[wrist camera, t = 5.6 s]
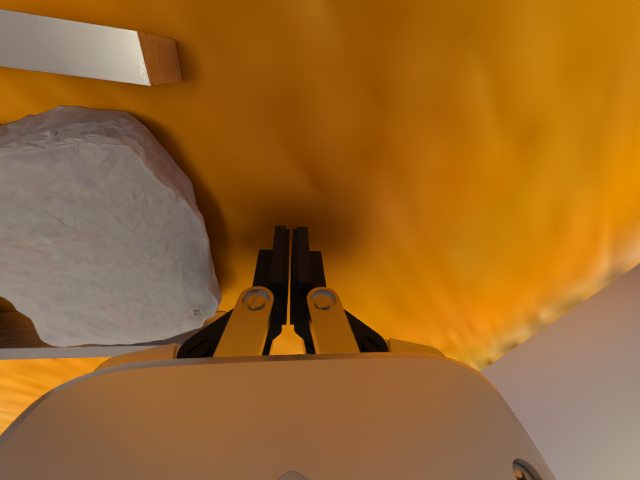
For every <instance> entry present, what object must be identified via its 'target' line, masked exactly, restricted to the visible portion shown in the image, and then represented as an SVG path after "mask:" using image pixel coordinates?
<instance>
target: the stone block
mask: <svg viewBox="0 0 640 480" xmlns="http://www.w3.org/2000/svg"><path fill="white" fill-rule="evenodd" d="M0 296H1V297H3V298H5V299H6V300H8V301H9V302H11V303H12V304H13V305H14V307H15V308H16V310H17V311H19V312H20V313H22V314H24V315H25V316H27V317H29V318H30V319H31V320H32V322H33V323H34V325H35V328H36V331H37V333H38V335H39V337H40V339H41V340H42V341H44V342H45V343H48V344H50V345H52V346H59V347H68V346H76V345H83V344H102V345H103V344H105V345H114V344H125V345H128V344H135V343H141V342H151V341H155V340H165V339H168V338H170V337H173V336H176V335H179V334H182V333H185V332H188V331H191V330H193V329H197V328H200V327H202V326H203V324H204V322H205V320H206V319H208V318H212V317H213V316H214V315H215V313H216V311H217V309H218V306H219V305H220V302H221V299H222V295H221V293H220V289H219V284H218V282H217V278H216V275H215V266H214V263H213V260H212V255H211V252H210V241H209V237H208V234H207V231H206V227H205V222H204V218H203V216H202V214H201V213H200V211H199V209H198V207H197V205H196V197H195V195H194V190H193V186H192V182H191V180H190V178H189V177H188V176H187V175H186V174H185V173H184V172H183V171H182V170H181V169H180V168H179V166H178V165H177V164H176V163H175V161H174V160H173V158H172V157H171V156H170V155H169V153H168V152H167V151H166V150H165V149H164V148H163V147H162V146H161V145H160V143H159V142H158V141H157V140H156V138H155V137H154V136H153V134H152V133H151V132H150V131H149V130H148V129H147V127H146V126H145V125H143V124H142V123H141V122H140V121H139V120H137V119H136V118H135V117H134V116H133V115H131V114H130V113H128V112H123V111H117V110H99V109H91V108H84V107H79V106H72V107H71V106H62V105H61V106H58V107H57V108H54V109H51V110H49V111H46V112H44V113H41V114H38V115H31V114H30V115H27V116H25V117H24V118H22V119H21V120H18V121H14V122H11V123H9V124H4V125H2V124H0Z"/></svg>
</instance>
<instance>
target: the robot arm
mask: <svg viewBox="0 0 640 480" xmlns="http://www.w3.org/2000/svg"><path fill="white" fill-rule="evenodd" d="M289 240H290V229H286V226H275V234H274V243H273V250H261V249H260V250H259V254H258V259H257V265H256V270H255V275H254V281H253V286H252V287H250V288H248V289H246V290H245V291H243V292H242V293H241V295H240V296H239V298H238V300H237V302H236V305H235V307H234V308H233V309H232V310H230V311H229V312H227V313H226V314H224V315H223V316H221V317H220V318H218V319H217V320H215V321H214V322H213V323H211V324H210V325H208V326H207V327H205V328H204V329H202V330H201V331H199V332H198V333H196V334H195V335H193V336H192V337H190V338H189V339H187V340H186V341H185V342H184V343H183V344H180V345H176V344H175V343H172V344H168V345H163V346H159V347H154V348H150V349H145V350H141V351H136V352H132V353H127V354H122V355H118V356H115V357H112V358H110V359H108V360H106V361H105V362H103V363H102V364H100V365H99V366H98V367H97V368H96V369H95V370H94V372H91V373H88V374H86V375H83V376H80V377H78V378H75V379H73V380H70V381H68V382H66V383H64V384H62V385H60V386H58V387H56V388H54V389H52V390H51V391H49V392H47V393H46V394H44V395H42V396H41V397H40V398H39V399H37V400H36V401H35V402H33V403H32V404H31V405H30V406H29V407H28V408H27V409H26V410H24V411H23V412H22V413H21V414H20V415H19V416H18V417H17V418H16V419H15V420H14V421H13V422H12V423H11V425H10V426H9V427H8V428H7V429H6V430H5V431H4V432H3V433H2V434H1V436H0V480H556V478H555V476H554V475H553V473H552V472H551V470H550V468H549V467H548V465H547V463H546V462H545V460H544V458H543V457H542V455H541V454H540V452H539V451H538V449H537V448H536V446H535V445H534V443H533V441H532V440H531V438H530V437H529V435H528V433H527V432H526V430H525V429H524V427H523V426H522V424H521V423H520V421H519V420H518V418H517V417H516V416H515V414H514V412H513V411H512V409H511V408H510V407H509V405H508V404H507V402H506V401H505V400H504V398H503V397H502V396H501V394H500V393H499V392H498V390H497V389H496V388H495V387H494V385H492V383H491V382H490V381H489V380H488V379H487V378H486V377H485V376H484V375H483V374H481V373H480V372H479V371H477V370H476V369H474V368H472V367H470V366H468V365H466V364H464V363H462V362H459V361H457V360H454V359H451V358H448V357H445V355H444V354H443V353H442V352H441V351H439V350H438V349H436V348H434V347H431V346H426V345H421V344H416V343H412V342H407V341H402V340H397V339H392V338H389V340H385V339H383V338H382V337H381V336H380V335H379V334H378V333H376V332H375V331H374V330H372V329H371V328H370V327H368V326H367V325H365V324H364V323H363V322H361V321H360V320H358V319H357V318H356V317H354V316H353V315H351V314H350V313H349V312H347V311H346V310H345V309H343V306H342V304H341V301H340V298H339V296H338V295H337V293H336V292H335V291H333V290H332V289H330V288H326V282H325V276H324V269H323V262H322V255H321V252H320V251H309V242H308V230H307V227H297V229H293V237H292V254H291V279H290V325H294V331H295V333H296V334H298V335H299V336H300V337H301V338H302V346H303V351H304V354H298V355H271V352H272V348H273V343H274V339H275V338H276V337H277V336H278V335H279V334H280V333H281V332H282V325H286V322H287V303H288V283H289Z"/></svg>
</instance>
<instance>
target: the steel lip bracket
mask: <svg viewBox="0 0 640 480" xmlns="http://www.w3.org/2000/svg"><path fill="white" fill-rule="evenodd" d="M0 66H3V67H11V68H19V69H26V70H34V71H42V72H49V73H57V74H65V75H72V76H80V77H88V78H95V79H103V80H111V81H118V82H126V83H134V84H141V85H149V86H152V85H159V84H167V83H174V82H182V81H183V79H182V74H181V69H180V63H179V58H178V52H177V47H176V41H175V40H174V39H169V38H165V37H160V36H156V35H151V34H147V33H142V32H138V31H132V30H126V29H120V28H114V27H108V26H101V25H95V24H89V23H83V22H76V21H70V20H64V19H58V18H52V17H45V16H39V15H33V14H27V13H20V12H14V11H8V10H2V9H0ZM224 314H226V313H225V312H216V313H215V315H214V316H213V317H212V318H208V319H206V320H205V322H204V324H203V326H202V327H200V328H197V329H193V330H191V331H188V332H185V333H182V334H179V335H176V336H173V337H170V338H168V339H165V340H155V341H151V342H141V343H135V344H128V345H125V344H114V345H105V344H103V345H102V344H83V345H76V346H68V347H59V346H52V345H50V344H48V343H45V342H44V341H42V340H41V339H40V337H39V335H38V333H37V331H36V328H35V325H34V323H33V322H32V320H31V319H30V318H29V317H27V316H25V315H24V314H22V313H20V312H0V360H5V359H44V358H83V357H115V356H118V355H122V354H127V353H132V352H136V351H141V350H145V349H150V348H154V347H159V346H163V345H168V344H172V343H175V344H176V345H180V344H183V343H184V342H185V341H186V340H187V339H189V338H190V337H192V336H193V335H195V334H196V333H198V332H199V331H201V330H202V329H204V328H205V327H207V326H208V325H210V324H211V323H213V322H214V321H215V320H217V319H218V318H220V317H221V316H223V315H224Z"/></svg>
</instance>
